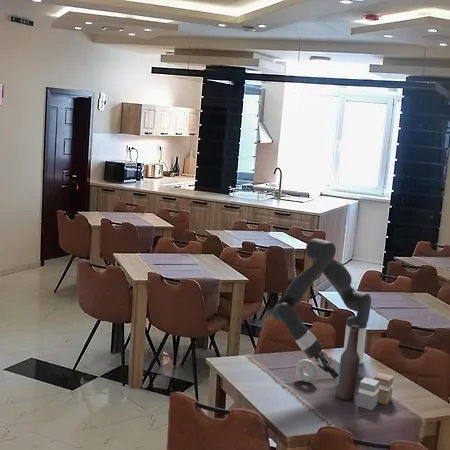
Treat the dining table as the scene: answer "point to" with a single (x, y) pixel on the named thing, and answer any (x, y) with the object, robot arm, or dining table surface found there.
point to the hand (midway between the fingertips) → (336, 376)
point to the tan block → (384, 387)
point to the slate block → (368, 393)
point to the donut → (312, 368)
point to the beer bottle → (349, 367)
